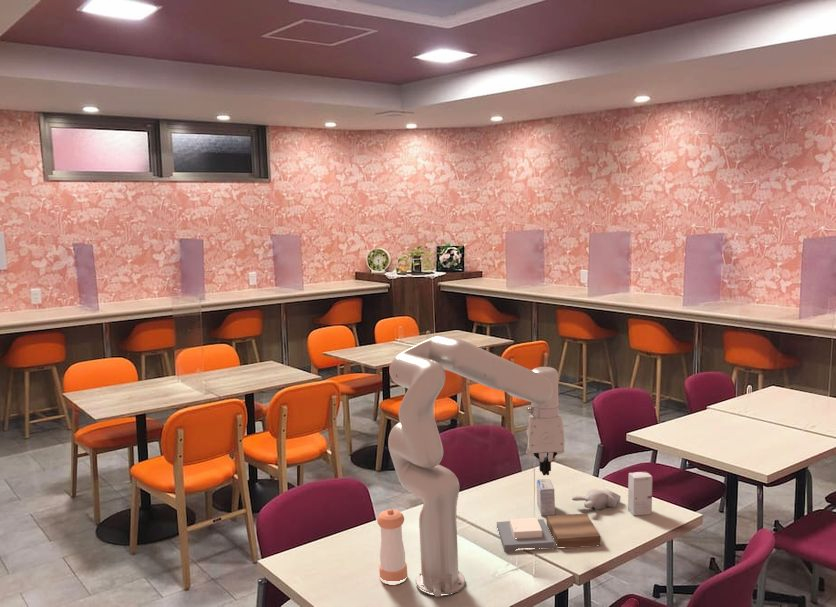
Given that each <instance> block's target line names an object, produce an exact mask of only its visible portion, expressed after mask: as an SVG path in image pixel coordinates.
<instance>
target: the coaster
mask: <svg viewBox="0 0 836 607" xmlns="http://www.w3.org/2000/svg"><path fill="white" fill-rule="evenodd" d="M538 520H539V519H538V518H537V517H526V518H525V517H522V518H509V520H508V521H509V523H510V528H511V531H512V534H513V537H514V539H515V538H535V537H542V529H541V527H540V524H539V522H538ZM516 527H517V529H516V530H515V528H516Z"/></svg>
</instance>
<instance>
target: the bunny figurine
mask: <svg viewBox="0 0 836 607" xmlns="http://www.w3.org/2000/svg"><path fill="white" fill-rule="evenodd" d="M571 500H572V501H574V502H575V501H576V502H578V501H585V502H583V506H584V507H585V508H586V509H592V508H593V509H594V510H596V511H598V510H604V509H605V508H606V507H612V508H616V507H617V504H618V503H619V502H620V501H621V495H620V494H618V493H617V492H613V491H611V490H610V489H608V488H605V489H603V490H602V489H601V490H600V489H598V488H593V489H592V488H591V489H589V490H587V493H586V495H585V496H583V495H573V496H572V499H571Z"/></svg>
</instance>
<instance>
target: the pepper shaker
mask: <svg viewBox="0 0 836 607" xmlns="http://www.w3.org/2000/svg"><path fill="white" fill-rule="evenodd" d="M404 522H405V516H404V514H403V513H402V512H401V511H400V510H396V509H392V508H388V509H387V510H382V511H381V512H379V514H378V516H377V519H376V523H377V525H378V526H379V527H380V548H379V560H380V561H379V562H380V564H379V566H378V567H379V570H378V571H379V578H380V577H381V578H382V579H383V580H386V581H400V580H403V579H405V578H406V577H407V578H408V564H407V562H406V551H405V547H404V541H403V532H402V531H403V529H402V528H403V527H402V526H403V524H404Z"/></svg>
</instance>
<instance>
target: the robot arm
mask: <svg viewBox="0 0 836 607" xmlns="http://www.w3.org/2000/svg"><path fill="white" fill-rule="evenodd" d="M446 371H448V372H451V373H453V374H456V375H458V376H461V377H463V378H466V379H468V380H470V381H473V382H475V383H477V384H480V385H482V386H483V387H488V388H491V389H494V390H498V391H501V392H505V393H507V394H508V395H509V396H511V397H513V398H516V399H519V400H523V401H527V402H530V406H529V407H526V408H525V411H526V412H525V413H527V414H529V416H528V420H527V426H526V439H525V440H526V450H525V453H526V455H527V456H533V457H535V458H536V459H537V460H539V464H538V465H539V466H538V467H539V468H538V469H539V472H541V473H542V475H543V476H550V472H551V471H552V461H553V459H554V458H556V457H557V456H558V455H561V454H564V453H565V432H564V430H565V429H564V423H563V418H562V415H561V414H559V372H558V371H557V369H556V368H554V367H551V366H538V367H535V368H533V369H529V368H527V367H524V366H522V365H519V364H518V363H515V362H513V361H510V360H508V359H507V358H503V357H502V356H500V355H497V354H495V353H492V352H490V351H488V350H485V349H483V348H481V347H479V346H477V345H475V344H472V343H470V342H468V341H466V340H463V339H460V338H455V337H451V336H446V335H436V336H433V337H431V338H428V339H426V340H424V341H422V342H420V343H418V344H416V345H414V346H412V347H410V348H408V349H406V350H404V351H401V352H400V353H398V354H396V356H395V357H394V358H393V359H392V361H391V362H390V365H389V375H390V378H391V380H392V382H394V383H395V385H398V386H399V387H402V388H405V389H407V390H406V392H405V394H404V396H403V398H402V400H401V402H400V405H399V408H398V420H399V422H398V423H396V424H394V426H393V427H392V429H390V432H389V435H388V441H387V443H388V444H387V445H388V451H389V454H390V457H391V461H392V464H393V467H394V470H395V473H396V476H397V479H398V481H399V483H400V484H401V486H402V487H403V489H404V490H406V491H407V492H409V493H410V494H413V495H414V496H416V497H418V498H419V499H420V500H422V502H423V506H422V507H421V511H420V513H419V516H418V517H419V518H418V526H419V527H418V528H419V548H420V551H419V552H420V569H421V571H420V572H419V573H418V574H417V576H416V578H415V585H416V584H417V586H418V587H419V588H421V589H422V590H424V591H426V592H429V593H433V594H434V595H435V596H434V597H436V598H439V597H442V596H441V594H451V593H455V592H457V593H459V592H460V591H461V590H463V588H464V586H465V584H466V582H465V580H466V578H465V576H464V574H463V573H462V572H461V571H459V556H458V555H459V554H458V553H459V552H458V526H457V523H458V522H457V510H458V509H457V507H458V500H459V494H460V482H459V479H458V477H457V476H456V474H455V473H454V472H453V471H452V470H450V469H449V468H448V467H445V466H443V465H441V464H440V463H441V461H442V460H443V456H444V447H443V442H442V439H441V435H440V432H439V429H438V426H437V423H436V419H435V415H434V405H435V402H436V400H437V397H438V396H439V394H440V393H441V391H442V390H443V387H444V386H445V382H446ZM545 453H546V454H545ZM544 454H545V456H544ZM544 457H545V458H544ZM421 575H422V576H421ZM417 586H416V587H417ZM421 586H423V587H421ZM459 590H460V591H459ZM455 594H456V593H455Z"/></svg>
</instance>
